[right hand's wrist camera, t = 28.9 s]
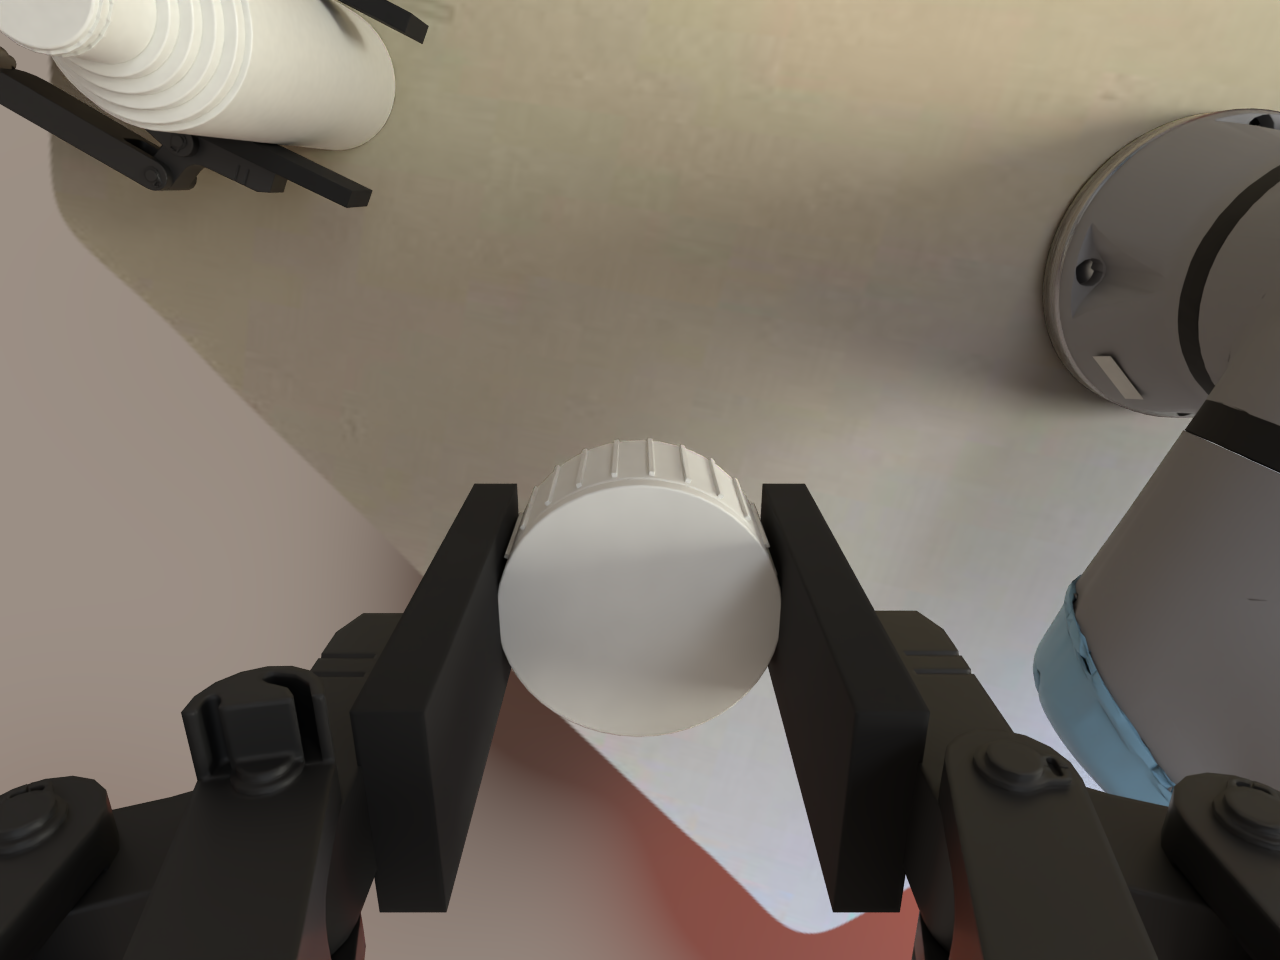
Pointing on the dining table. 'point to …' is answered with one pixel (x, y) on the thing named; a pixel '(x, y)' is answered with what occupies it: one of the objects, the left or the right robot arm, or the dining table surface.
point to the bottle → (219, 65)
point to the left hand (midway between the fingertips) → (386, 116)
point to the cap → (639, 590)
